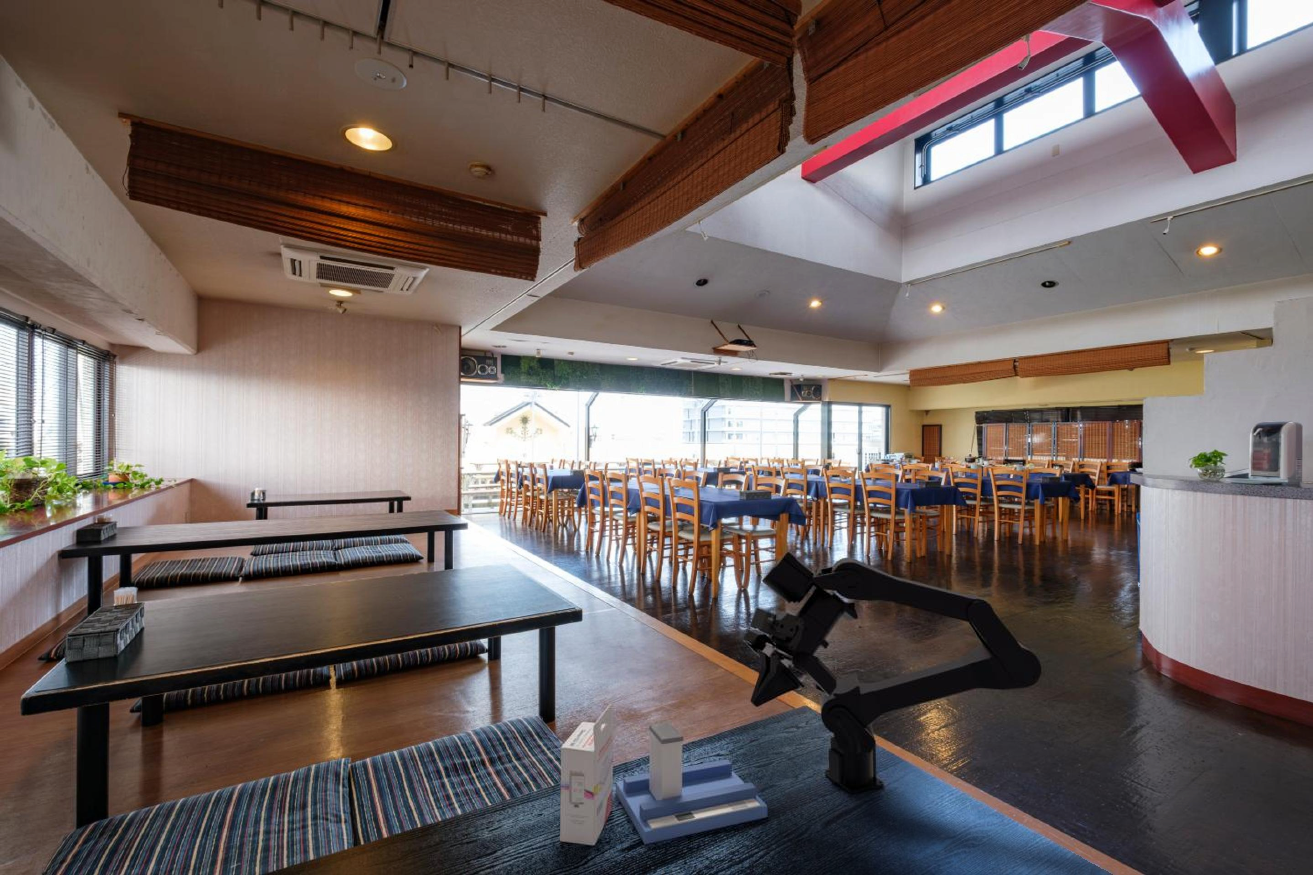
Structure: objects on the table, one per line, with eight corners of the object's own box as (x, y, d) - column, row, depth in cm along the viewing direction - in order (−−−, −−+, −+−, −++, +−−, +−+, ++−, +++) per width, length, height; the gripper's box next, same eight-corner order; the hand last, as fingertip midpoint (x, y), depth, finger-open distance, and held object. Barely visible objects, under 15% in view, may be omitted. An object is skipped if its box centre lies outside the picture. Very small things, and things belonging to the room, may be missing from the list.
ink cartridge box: (579, 805, 81) (581, 698, 82) (613, 809, 80) (615, 701, 81) (557, 842, 73) (560, 722, 74) (594, 847, 72) (596, 726, 73)
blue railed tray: (723, 772, 91) (723, 752, 91) (767, 816, 79) (767, 794, 79) (615, 792, 85) (616, 771, 85) (644, 844, 73) (645, 819, 73)
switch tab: (668, 785, 84) (669, 721, 84) (682, 803, 79) (683, 736, 80) (648, 789, 83) (649, 724, 83) (661, 808, 78) (661, 739, 78)
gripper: (751, 581, 99) (693, 653, 94) (816, 599, 81) (749, 689, 76) (791, 624, 101) (737, 696, 96) (864, 651, 83) (801, 742, 78)
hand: (753, 704), depth 86 cm, fingers closed
